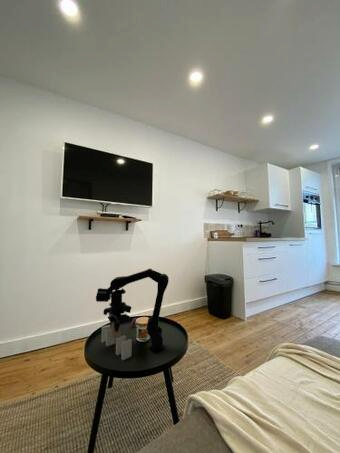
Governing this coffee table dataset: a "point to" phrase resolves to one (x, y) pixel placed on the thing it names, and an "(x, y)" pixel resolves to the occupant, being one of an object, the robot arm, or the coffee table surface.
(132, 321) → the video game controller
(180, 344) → the coffee table surface
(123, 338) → the domino
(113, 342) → the domino
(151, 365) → the coffee table surface
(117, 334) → the domino
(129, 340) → the domino
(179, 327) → the coffee table surface
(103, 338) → the domino
